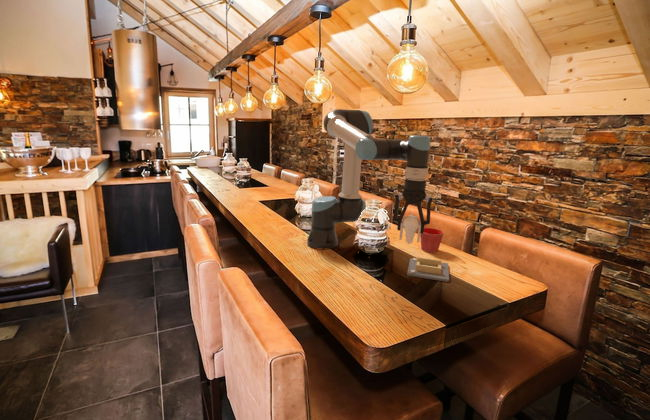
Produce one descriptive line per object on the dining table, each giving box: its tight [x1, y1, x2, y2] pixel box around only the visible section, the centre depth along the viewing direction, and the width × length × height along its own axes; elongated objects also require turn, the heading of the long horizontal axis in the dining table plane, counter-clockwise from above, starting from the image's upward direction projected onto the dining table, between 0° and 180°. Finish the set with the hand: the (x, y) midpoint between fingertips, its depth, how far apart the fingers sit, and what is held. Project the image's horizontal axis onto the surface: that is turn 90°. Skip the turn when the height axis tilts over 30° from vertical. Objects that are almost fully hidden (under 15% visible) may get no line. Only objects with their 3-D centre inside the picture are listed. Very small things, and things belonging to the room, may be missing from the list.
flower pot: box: [420, 227, 444, 253], centre depth 173 cm, size 11×11×10 cm
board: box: [406, 256, 450, 283], centre depth 149 cm, size 16×18×4 cm
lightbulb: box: [402, 214, 421, 244], centre depth 133 cm, size 6×6×11 cm
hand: (409, 239), depth 134 cm, fingers closed on lightbulb, 6 cm apart
